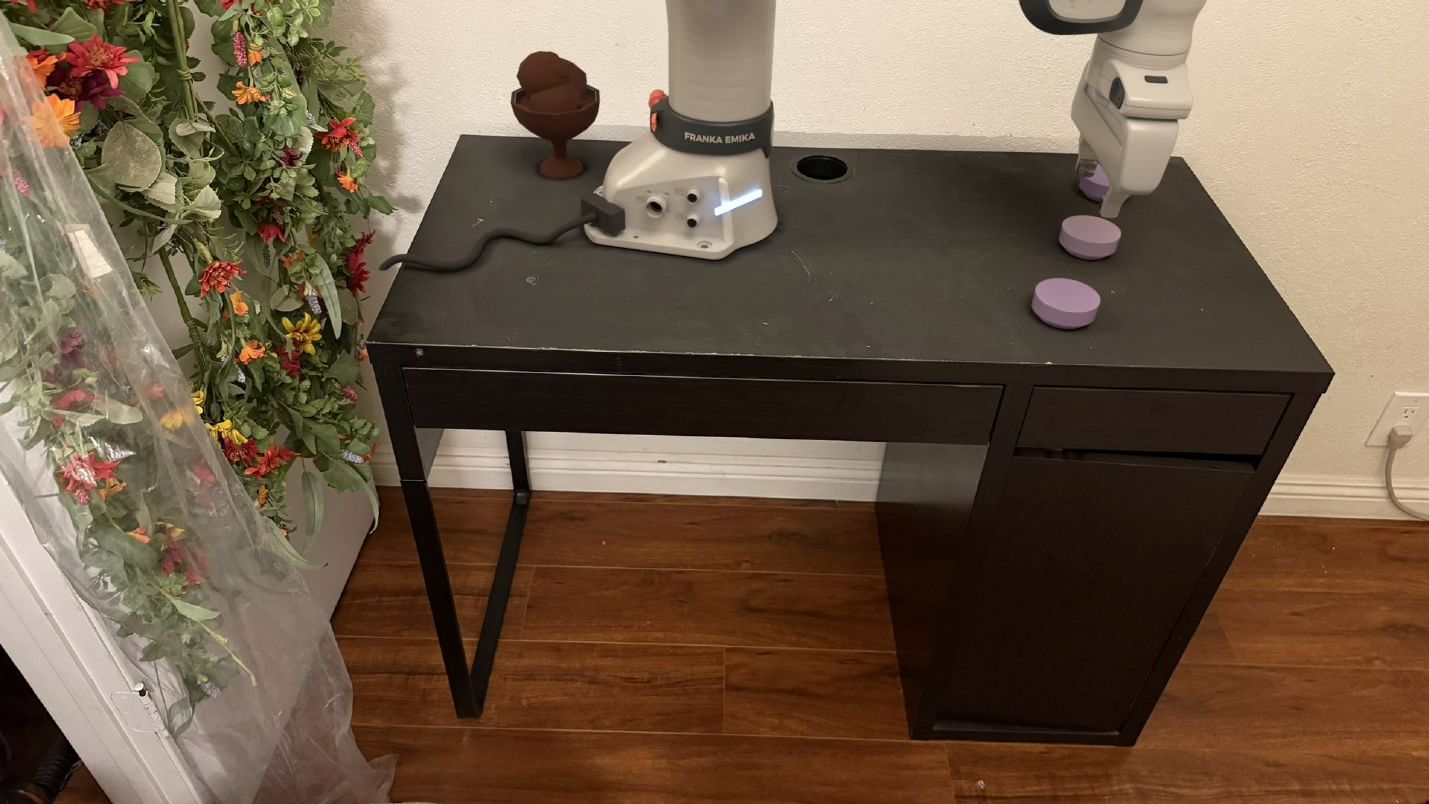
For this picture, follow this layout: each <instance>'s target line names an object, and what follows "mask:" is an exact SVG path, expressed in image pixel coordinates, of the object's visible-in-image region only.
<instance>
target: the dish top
mask: <svg viewBox="0 0 1429 804" xmlns="http://www.w3.org/2000/svg"><path fill="white" fill-rule="evenodd" d="M1121 237H1122V231H1121V229H1120V228H1119V227H1118V226H1117V224H1115V223H1113V222H1112V221H1109V220H1107V219H1106V218H1103V217H1097V216H1093V215H1073V216H1068V217H1067V218H1065V219H1064V220H1063V221H1062V223H1061V227H1060V230H1059V234H1058V242H1059V244H1060V245H1061V246H1062V247H1063V248H1064V249H1065V251H1066V252H1067V253H1069V254H1070V255H1072V256H1074V257H1077V258H1079V259H1083V260H1095V261H1096V260H1100V259H1104V258H1106V257H1108V256H1111V255H1113V254H1115V252H1116V251H1117V250H1118V248H1119V247H1118V246H1119V244H1120V240H1121Z"/></svg>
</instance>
